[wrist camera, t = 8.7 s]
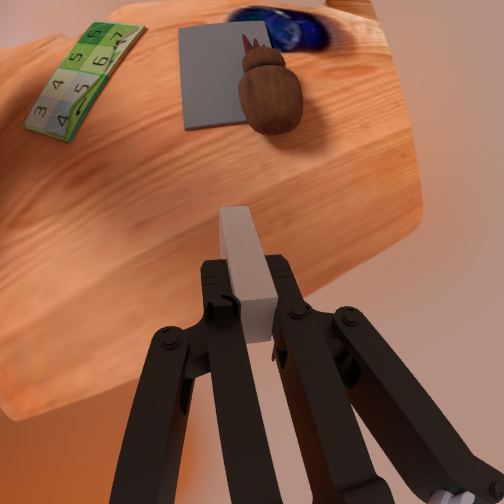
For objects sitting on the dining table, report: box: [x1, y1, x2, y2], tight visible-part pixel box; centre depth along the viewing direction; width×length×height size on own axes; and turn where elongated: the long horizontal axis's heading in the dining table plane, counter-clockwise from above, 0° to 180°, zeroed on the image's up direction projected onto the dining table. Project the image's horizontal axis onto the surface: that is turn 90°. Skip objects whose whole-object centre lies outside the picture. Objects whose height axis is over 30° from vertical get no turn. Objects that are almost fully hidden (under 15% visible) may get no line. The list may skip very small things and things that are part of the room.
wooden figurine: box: [238, 34, 303, 135], centre depth 30 cm, size 7×6×15 cm
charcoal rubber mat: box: [178, 21, 271, 130], centre depth 32 cm, size 17×12×1 cm
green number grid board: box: [22, 20, 146, 143], centre depth 31 cm, size 20×1×10 cm
